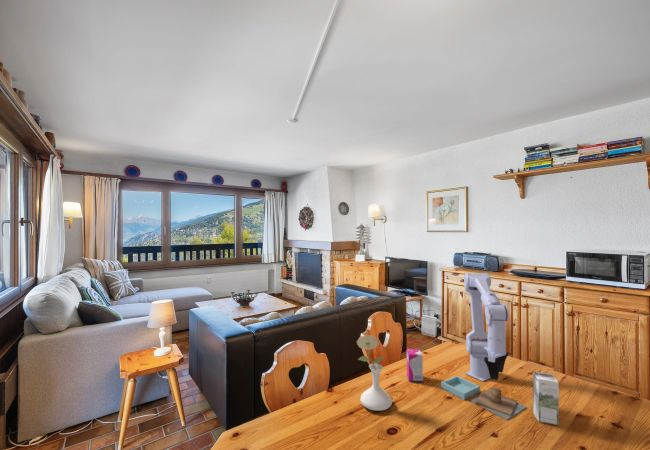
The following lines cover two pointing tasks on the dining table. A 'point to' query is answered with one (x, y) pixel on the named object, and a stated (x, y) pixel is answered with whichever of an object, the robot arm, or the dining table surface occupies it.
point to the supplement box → (414, 365)
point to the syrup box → (546, 398)
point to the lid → (496, 401)
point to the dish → (460, 387)
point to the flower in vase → (374, 395)
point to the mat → (516, 410)
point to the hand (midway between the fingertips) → (496, 375)
